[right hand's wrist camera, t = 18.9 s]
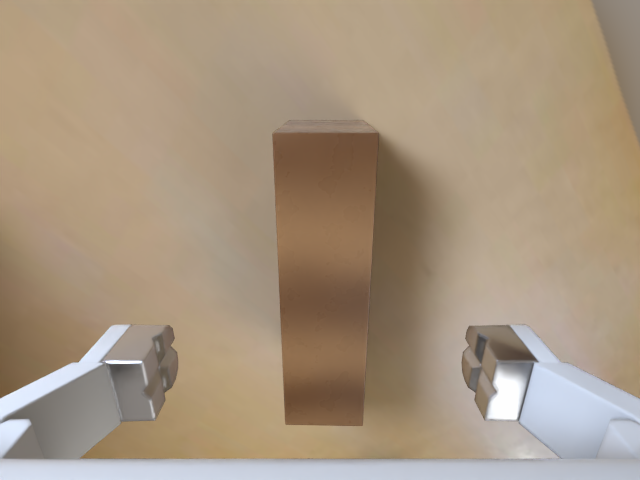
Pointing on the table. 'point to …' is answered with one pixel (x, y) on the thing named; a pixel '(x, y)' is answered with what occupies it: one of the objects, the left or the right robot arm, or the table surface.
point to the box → (325, 265)
